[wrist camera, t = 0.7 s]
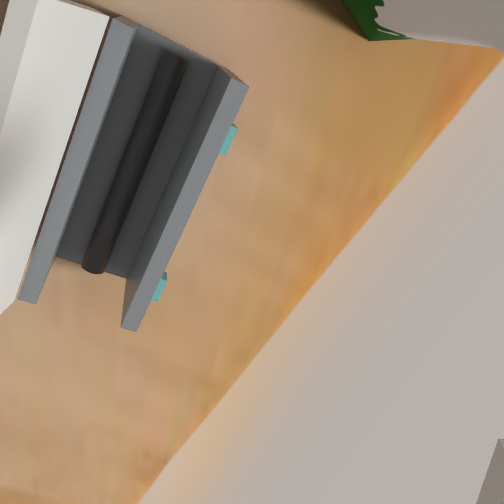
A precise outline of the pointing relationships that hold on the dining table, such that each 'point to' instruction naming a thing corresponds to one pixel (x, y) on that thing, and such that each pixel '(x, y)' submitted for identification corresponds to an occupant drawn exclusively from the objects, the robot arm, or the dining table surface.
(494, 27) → the milk carton
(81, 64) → the cover
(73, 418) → the dining table surface
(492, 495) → the robot arm
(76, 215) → the stand
